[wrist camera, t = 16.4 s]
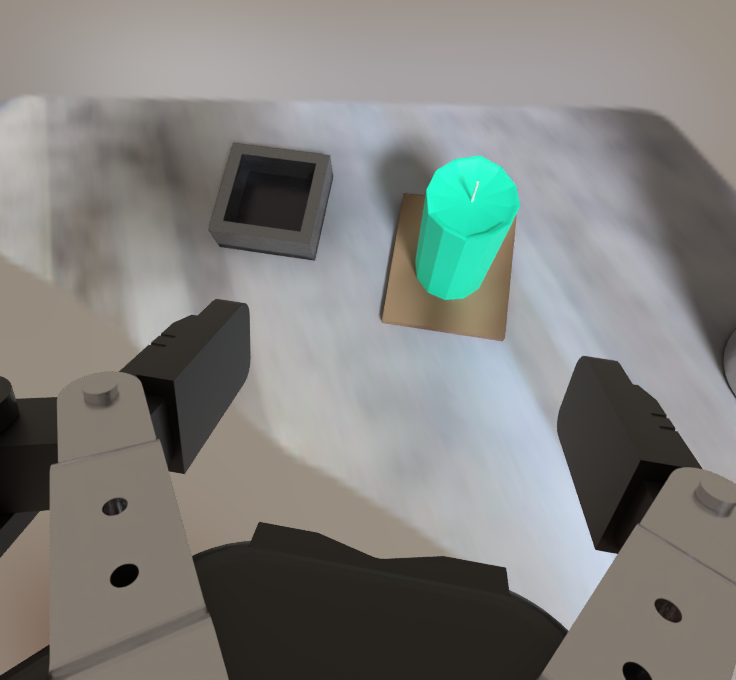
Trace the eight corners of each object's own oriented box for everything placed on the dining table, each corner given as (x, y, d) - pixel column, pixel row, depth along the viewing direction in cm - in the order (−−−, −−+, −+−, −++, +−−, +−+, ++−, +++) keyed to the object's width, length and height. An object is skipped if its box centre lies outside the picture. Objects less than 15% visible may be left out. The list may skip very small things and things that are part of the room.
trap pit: (333, 176, 44) (330, 155, 41) (314, 260, 42) (309, 244, 39) (243, 164, 45) (233, 142, 42) (219, 246, 42) (208, 229, 40)
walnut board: (514, 213, 43) (517, 208, 42) (502, 341, 39) (504, 338, 39) (403, 198, 43) (403, 193, 43) (382, 322, 40) (382, 319, 39)
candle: (420, 230, 42) (436, 134, 30) (490, 241, 41) (532, 148, 30) (409, 293, 40) (420, 218, 28) (481, 306, 39) (522, 234, 28)
